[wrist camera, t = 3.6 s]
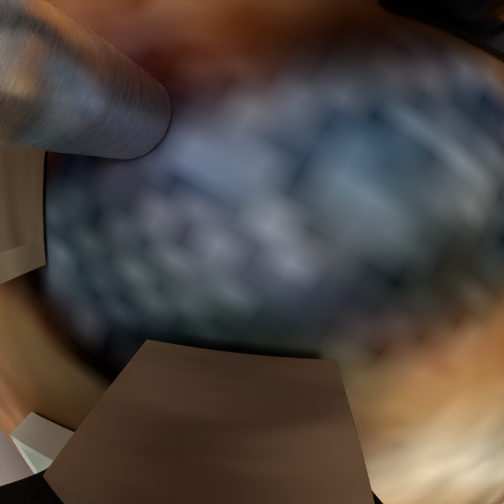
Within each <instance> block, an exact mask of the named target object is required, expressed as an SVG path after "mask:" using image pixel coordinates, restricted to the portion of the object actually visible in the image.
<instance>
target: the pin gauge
mask: <svg viewBox="0 0 504 504" xmlns="http://www.w3.org/2000/svg"><path fill="white" fill-rule="evenodd" d="M171 112H172V107H171V100H170V97H169V94H168V92H167V91H166V89H165V88H164V87H163V85H161V84H160V83H159V82H158V81H157V80H155V79H154V78H153V77H152V76H150V75H149V74H148V73H147V72H146V71H144V70H143V69H142V68H141V67H139V66H138V65H137V64H136V63H134V62H133V61H132V60H130V59H129V58H128V57H127V56H125V55H124V54H123V53H121V52H120V51H119V50H117V49H116V48H115V47H114V46H112V45H111V44H110V43H108V42H107V41H106V40H104V39H103V38H102V37H100V36H99V35H97V34H96V33H95V32H93V31H92V30H91V29H89V28H88V27H86V26H85V25H84V24H82V23H81V22H79V21H78V20H76V19H75V18H74V17H72V16H71V15H69V14H68V13H66V12H65V11H63V10H62V9H60V8H59V7H57V6H56V5H54V4H53V3H51V2H50V1H48V0H0V148H1V149H21V150H36V151H49V152H60V153H71V154H81V155H90V156H98V157H107V158H115V159H123V160H128V159H134V158H138V157H140V156H143V155H144V154H146V153H148V152H149V151H151V150H152V149H153V148H154V147H155V146H156V145H157V144H158V143H159V142H160V141H161V139H162V138H163V136H164V135H165V133H166V131H167V129H168V126H169V123H170V119H171Z"/></svg>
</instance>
